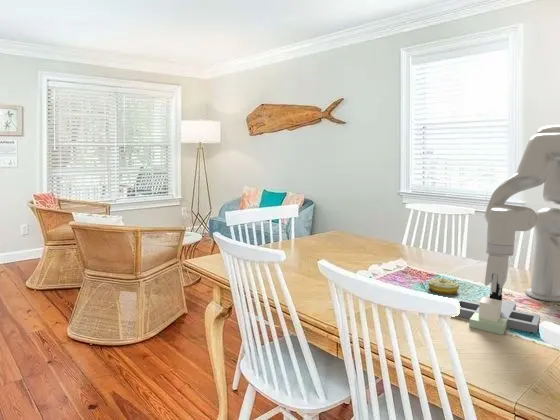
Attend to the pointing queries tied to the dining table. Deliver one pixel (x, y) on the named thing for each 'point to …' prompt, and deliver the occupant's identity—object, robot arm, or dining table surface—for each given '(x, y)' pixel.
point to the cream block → (490, 309)
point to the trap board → (506, 319)
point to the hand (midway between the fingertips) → (495, 306)
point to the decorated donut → (443, 286)
